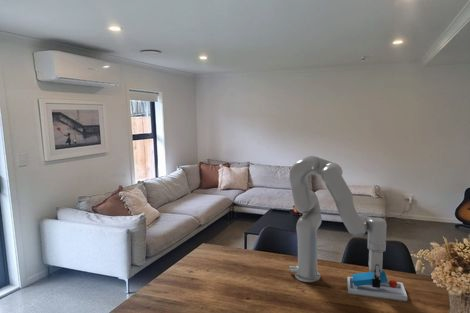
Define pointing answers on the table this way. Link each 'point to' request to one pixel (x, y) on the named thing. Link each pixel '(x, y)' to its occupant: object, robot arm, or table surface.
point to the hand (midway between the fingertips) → (375, 282)
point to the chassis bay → (378, 291)
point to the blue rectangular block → (367, 279)
